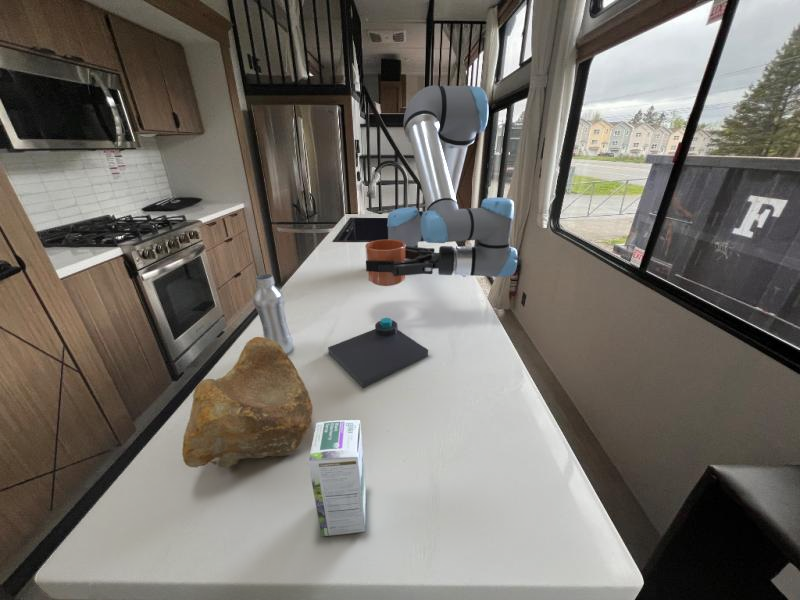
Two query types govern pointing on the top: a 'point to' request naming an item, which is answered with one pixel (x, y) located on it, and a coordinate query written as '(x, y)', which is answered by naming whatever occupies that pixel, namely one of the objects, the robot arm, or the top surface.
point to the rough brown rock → (248, 410)
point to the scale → (377, 354)
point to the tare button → (386, 323)
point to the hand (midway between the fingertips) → (371, 258)
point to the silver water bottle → (272, 312)
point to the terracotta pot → (385, 252)
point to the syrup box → (338, 477)
